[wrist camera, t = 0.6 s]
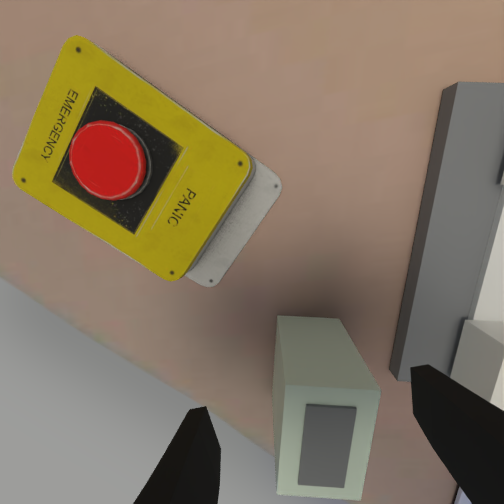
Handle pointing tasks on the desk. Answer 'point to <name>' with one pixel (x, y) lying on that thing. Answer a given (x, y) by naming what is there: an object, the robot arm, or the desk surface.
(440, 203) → the rail board
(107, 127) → the emergency button
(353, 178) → the desk surface
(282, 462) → the block
